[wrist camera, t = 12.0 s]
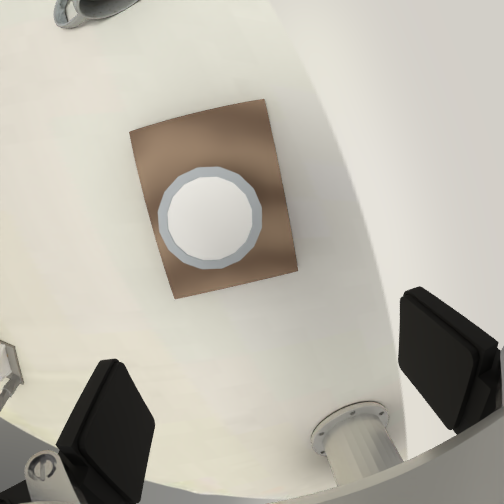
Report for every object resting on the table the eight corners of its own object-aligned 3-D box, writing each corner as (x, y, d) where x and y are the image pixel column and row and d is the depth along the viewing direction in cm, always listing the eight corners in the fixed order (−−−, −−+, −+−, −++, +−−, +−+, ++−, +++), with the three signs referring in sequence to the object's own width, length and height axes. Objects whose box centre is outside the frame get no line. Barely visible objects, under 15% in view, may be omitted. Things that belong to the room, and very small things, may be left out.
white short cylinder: (243, 156, 25) (251, 155, 18) (259, 233, 27) (272, 257, 20) (164, 175, 25) (145, 181, 18) (184, 250, 27) (173, 280, 20)
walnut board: (294, 265, 30) (298, 270, 28) (176, 292, 30) (174, 299, 28) (262, 102, 25) (264, 98, 24) (133, 133, 25) (129, 131, 23)
